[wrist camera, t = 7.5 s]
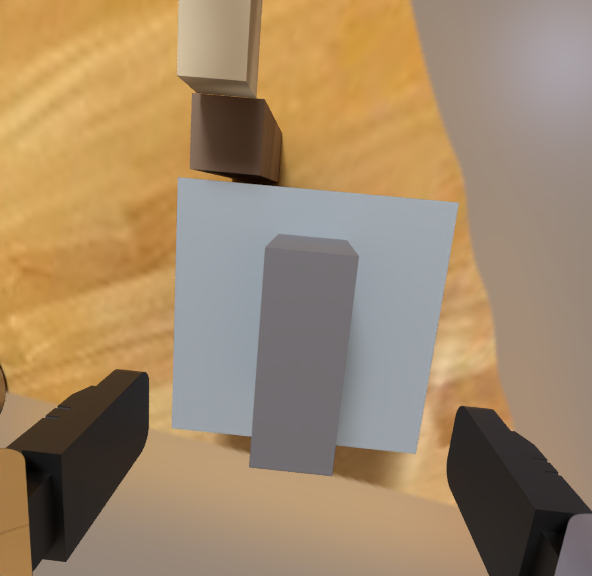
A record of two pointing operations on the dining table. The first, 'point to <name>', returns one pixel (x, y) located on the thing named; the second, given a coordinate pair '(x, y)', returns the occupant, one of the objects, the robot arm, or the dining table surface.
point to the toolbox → (234, 138)
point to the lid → (306, 318)
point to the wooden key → (219, 46)
